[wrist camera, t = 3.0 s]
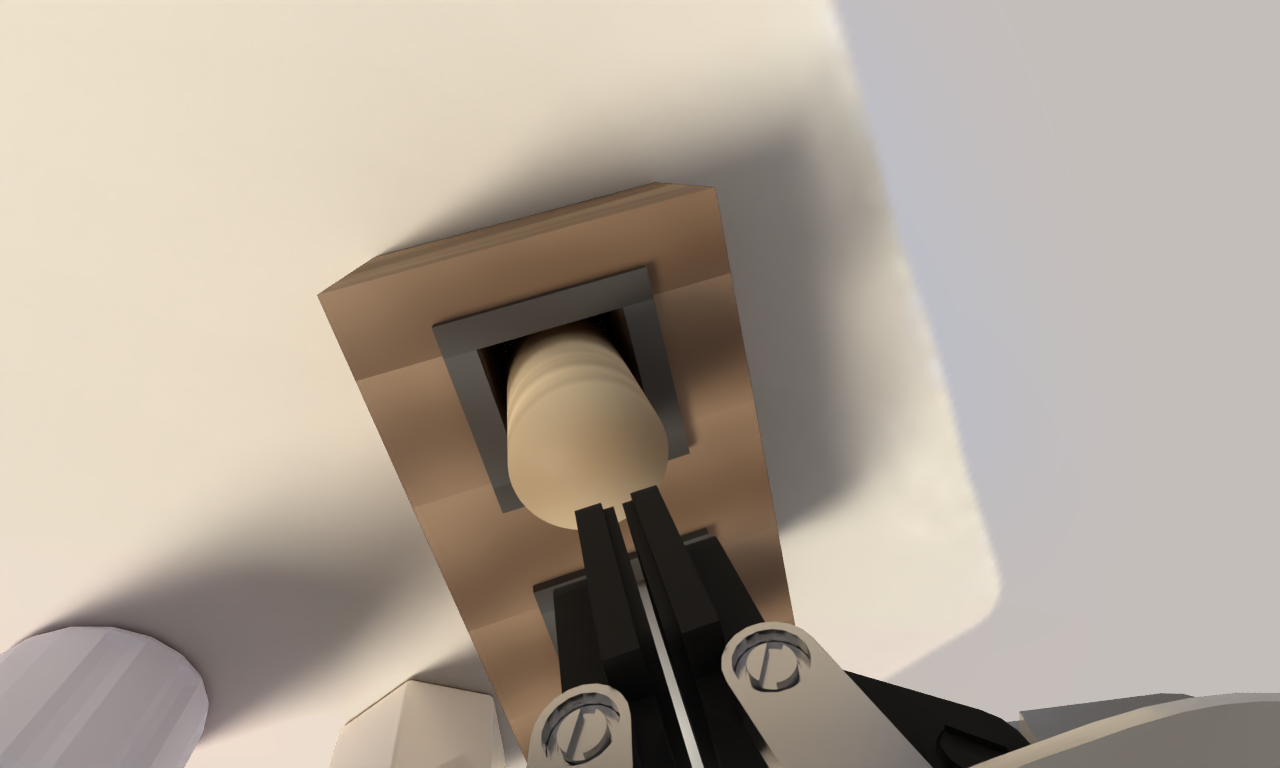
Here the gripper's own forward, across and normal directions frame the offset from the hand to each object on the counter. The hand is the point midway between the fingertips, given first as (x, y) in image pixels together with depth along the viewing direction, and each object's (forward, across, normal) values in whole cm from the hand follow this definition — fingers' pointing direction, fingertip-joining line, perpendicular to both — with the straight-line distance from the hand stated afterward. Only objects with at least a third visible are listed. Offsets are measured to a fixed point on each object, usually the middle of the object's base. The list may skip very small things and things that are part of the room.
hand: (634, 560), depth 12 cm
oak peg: (+12, 0, -1) cm, 12 cm away
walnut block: (+17, 0, +4) cm, 17 cm away
